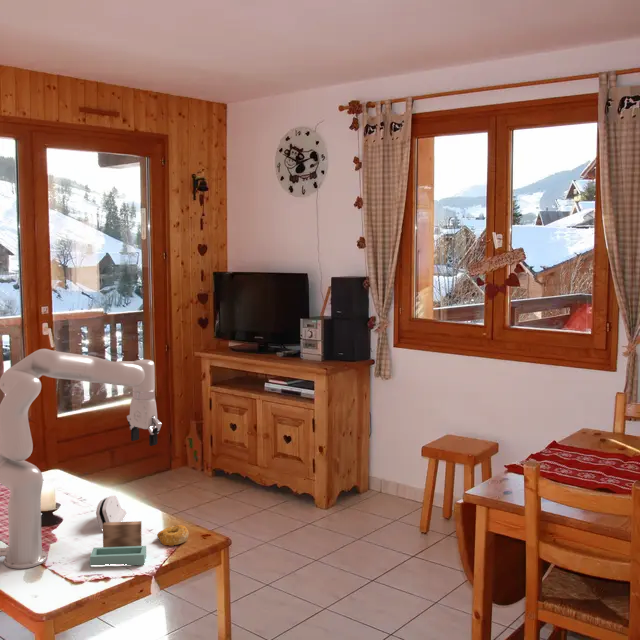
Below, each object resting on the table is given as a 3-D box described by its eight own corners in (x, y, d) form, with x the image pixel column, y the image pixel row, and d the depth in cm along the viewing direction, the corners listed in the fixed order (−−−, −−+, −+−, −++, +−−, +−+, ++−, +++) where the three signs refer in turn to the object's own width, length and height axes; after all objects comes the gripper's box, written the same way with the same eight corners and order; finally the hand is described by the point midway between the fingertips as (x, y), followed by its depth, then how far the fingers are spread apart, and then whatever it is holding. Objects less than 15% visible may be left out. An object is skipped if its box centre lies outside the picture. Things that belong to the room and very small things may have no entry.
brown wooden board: (103, 551, 243) (102, 525, 242) (104, 548, 246) (103, 522, 245) (140, 550, 245) (140, 524, 244) (141, 547, 247) (141, 521, 246)
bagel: (169, 532, 261) (169, 519, 260) (194, 539, 255) (194, 526, 255) (150, 542, 252) (150, 529, 251) (176, 550, 247) (176, 536, 246)
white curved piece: (116, 531, 260) (106, 505, 259) (103, 536, 260) (93, 509, 259) (127, 514, 276) (117, 489, 275) (114, 518, 276) (105, 493, 275)
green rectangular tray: (90, 567, 232) (90, 556, 231) (93, 558, 238) (93, 547, 238) (144, 565, 234) (144, 554, 233) (146, 556, 241) (146, 545, 240)
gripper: (119, 393, 264) (119, 440, 266) (152, 400, 254) (152, 449, 256) (136, 390, 270) (136, 436, 272) (168, 396, 260) (168, 444, 262)
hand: (144, 442), depth 264 cm, fingers open, 9 cm apart
